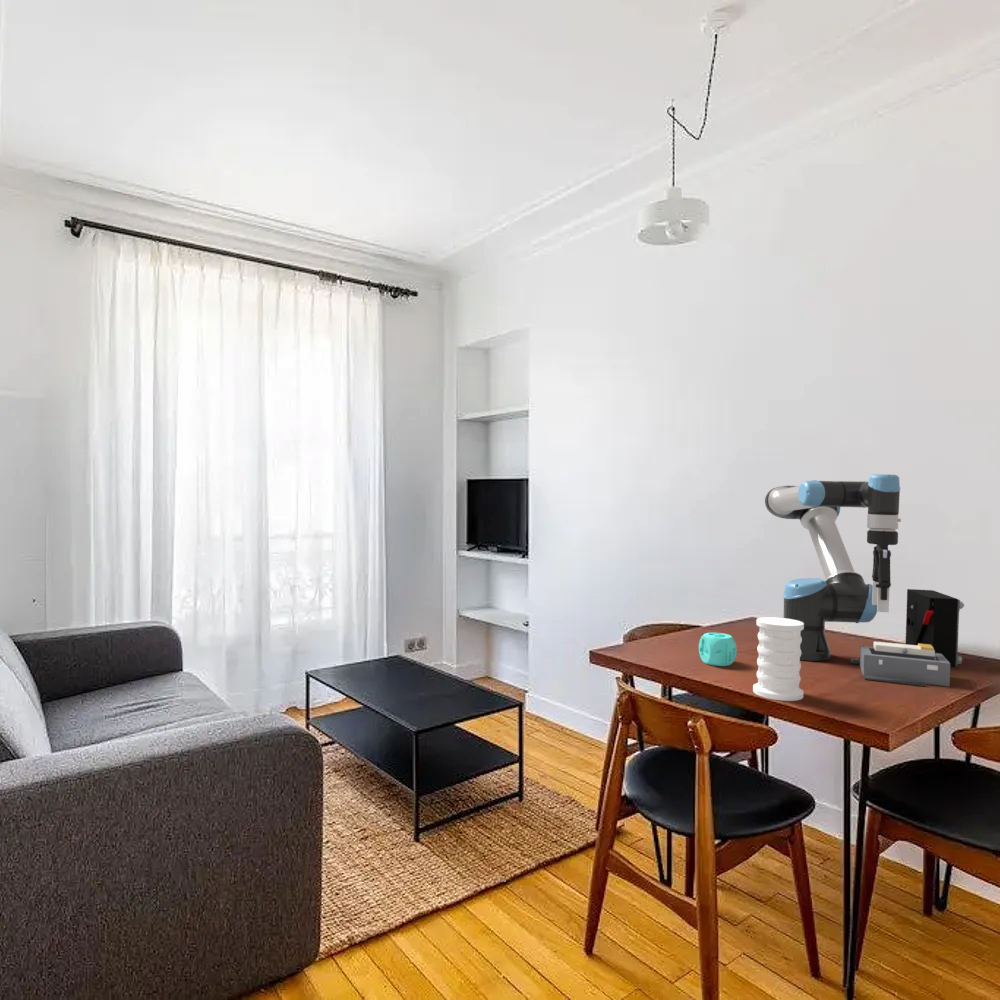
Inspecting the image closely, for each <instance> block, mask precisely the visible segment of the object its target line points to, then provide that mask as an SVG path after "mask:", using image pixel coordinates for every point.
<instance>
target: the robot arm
mask: <svg viewBox="0 0 1000 1000" xmlns="http://www.w3.org/2000/svg"><path fill="white" fill-rule="evenodd" d="M900 485H901V484H900V477H899V475H897V474H887V473H886V474H884V473H883V474H879V473H878V474H871V475H870V476H869V478H868V481H866V480H864V481H853V480H852V481H849V480H848V481H844V480H843V481H840V480H834V481H833V480H816V479H815V480H804V481H803V482H801V484H800V485H779V486H776V487H773V488H772V489H770V490H769V491H768V492H767V494H766V495H765V496H764V505H765V508H766V510H767V511H768V512H769V513H771V515H773V516H775V517H777V518H779V519H785V520H799V521H800V524H801V526H802V527H803V529H804V528H805V529H806V530H808V532H809V535H810V539H811V540H812V544H813V546H814V549H815V553H816V555H817V557H818V558H817V559H818V560H819V564H820V567H821V570H822V572H823V575H824V578H825V579H824V578H821V577H803V578H794V579H791V580H788V581H787V582H786V583H785V585H784V591H783V592H784V593H783V596H782V597H783V617H782V618H787V619H793V620H797V621H801V622H803V623H804V629H803V630H801V633H800V636H801V638H802V642H801V644H800V649H801V657H800V661H809V662H810V661H813V662H814V661H815V662H818V661H819V662H822V661H827V660H830V659H831V649H830V646H829V643H828V638H827V636H826V633H825V630H826V629H825V628H826V627H825V625H826V622H827V623H829V622H830V623H831V622H832V623H855V624H860V623H861V624H862V623H870V622H872V621H873V620H874V619H875V617H876V615H877V612H879V613H889V611H890V588H891V585H892V583H891V556H892V552H891V550H889V546H895V545H896V546H897V545H898V543H899V532H898V531H896V530H898V529H899V523H901V522H902V519H901V518H899V513H900V497H901V496H900V491H901V487H900ZM841 508H862V509H865V508H867V518H866V520H867V522H866V528H867V529H868V530H867V531H866V542H867V544H870V545H876V546H873V552H872V554H873V559H872V561H873V562H872V563H873V564H872V575H871V578H872V584H871V583H868V584H867V583H866V582H865V580H864V578H863V576H862V575H861V574H860V573H858V572H857V571H856V572H855V569H854V567H853V564H852V562H851V559H850V557H849V554H848V551H847V549H846V547H845V543H844V542H843V539H842V537H841V534H840V531H839V529H838V526H837V524H836V521H837V519H838V517H839V514H840V512H841Z"/></svg>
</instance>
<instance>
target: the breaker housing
mask: <svg viewBox="0 0 1000 1000" xmlns="http://www.w3.org/2000/svg"><path fill="white" fill-rule="evenodd" d="M859 649H860V650H859V651H860V653H859V659H860V664H859V668H860V670H861V671H860V672H861V673H862V676H863V678H864V676H872V677H881V678H890V679H899V680H908V681H916V682H925V685H926V684H927V685H934V686H942V687H950V683H951V682H950V681H951V667H950V663H949V661H948V660H947V659H946V658H945V657H944V656H943V655H942V654H940V653H935V657H933V656H923V655H913V654H903V653H893V652H883V651H875V649H874V646H866V645H860V648H859Z"/></svg>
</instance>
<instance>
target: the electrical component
mask: <svg viewBox="0 0 1000 1000" xmlns="http://www.w3.org/2000/svg"><path fill="white" fill-rule="evenodd" d="M964 607H965V603H964V602H963V601H961V599H959V598H956V597H953V596H950V595H948V594H945V593H942V592H938V591H937V590H931V589H916V588H915V589H913V588H912V589H911V588H910V589H909V588H908V589H907V591H906V617H905V618H906V620H905V621H906V622H905V644H907V645H917V646H918V643H919V644H930V645H931V646H932V647H933V648H934V650H935V653H940V654H942V655H943V656H944V657H945V658H946V659H947V660H948V661H949V663H950V668H952V667H956V668H958V667H959V666H958V665H959V664H962V662H963V658H962V656H960V655H959V653H958V651H959V627H960V625H959V621H960V610H962V609H963V608H964Z"/></svg>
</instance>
